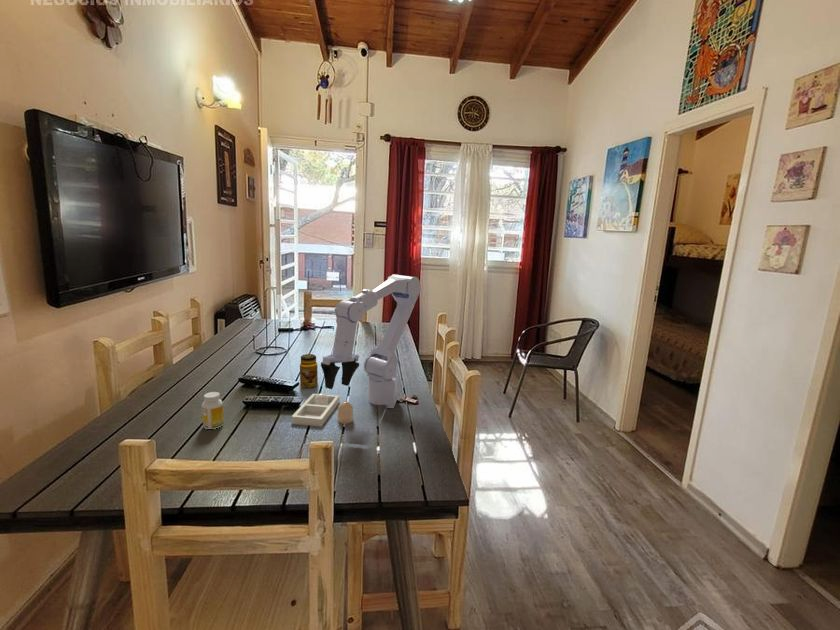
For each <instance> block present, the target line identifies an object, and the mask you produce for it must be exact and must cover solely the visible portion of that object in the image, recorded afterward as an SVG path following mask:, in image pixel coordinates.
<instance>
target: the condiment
mask: <svg viewBox="0 0 840 630" xmlns="http://www.w3.org/2000/svg"><path fill="white" fill-rule="evenodd" d="M318 373H319V372H318V362H317V356H316V355H315V354H314V353H313V354H311V353H306V354H302V355H301V356H300V363H299V379H300V381H299V382H300V383H299V385H300V388H302V389H303V390H305V389H306V390H309V389H315V388H317V387H318V384H319V381H318V380H319V378H318V375H319V374H318Z"/></svg>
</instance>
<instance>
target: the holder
mask: <svg viewBox="0 0 840 630" xmlns="http://www.w3.org/2000/svg"><path fill="white" fill-rule="evenodd" d="M318 394H319V393H311V395H309V397H308V398H307V399H306V400H305V402H304V403H303V404H302V405H300V407H299V408H298V409H296V411H295V412H294V413H293V414H292V415H291V424H292V425H300V426H301V425H302V426H311V427H312V426H313V427H314V426H315V427H323V426H324V424H325V423H326V421H327V420H328V419H329V417H330V416H331V415H332V414H333V412H334V411H335V409H336V408H337V407H338V406H339V405H340V395H335V394H334V395H333V394H326V395H327V396H328V404H327V405H326V406H325V405H315V402H314V399H315V397H316V395H318Z"/></svg>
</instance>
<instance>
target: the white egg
mask: <svg viewBox="0 0 840 630" xmlns="http://www.w3.org/2000/svg"><path fill="white" fill-rule="evenodd" d="M317 394H318V395H316V397H315V399H314V402H315V405H325V406H326V405H327V404H328V396H327V395H328V394H326V393H323V392H321V393H317Z"/></svg>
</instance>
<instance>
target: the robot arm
mask: <svg viewBox="0 0 840 630" xmlns="http://www.w3.org/2000/svg"><path fill="white" fill-rule="evenodd" d="M421 290H422V286H421V281H420V279H419V277H417V276H410V275H403V274H402V275H401V274H397V273H394V274H392V275H390V276H388V277H387V280H385V281H384V282H382V283H381V284H380V285H378V286H377V287H375V288H374V289H366V288H364V289H362V290H361V292H359V293H358V294H356V295H353V296H351V297H350V299H343V300H341V301H339V303H337V305H336V307H335V308H334V313H335V316H336V319H335V322H336V328H335V335H334V341H333V348H332V354H329V355H326V356H323V357H322V361H321V362H320V367H321V370H322V373H323V375H324V384H325V385H324V386H325V388H326V389H329V390H332V389H333V388H334V386H335V381H336V378H337V377H336V376H337V374H338V373H339V370H340V369H341V368H342V371H341V372H342V373H341V385H343V386H346V387H347V386H348V387H349V385H350V383H351V381H352V378H353V375H354V374H355V372H356V371H357V369H359V366H360V362H359V357H360V355H359V354H355V353H353V352H354V344H355V338H356V333H357V327H358V326H357V325H358V322H360V321H361V320H362V318H363V317H364V315H365V314H366V313H367V312H368V311H370V310H371V309H373V308H375V307H376V306H377V305H378V304H379V303H378V302H379V300H381V299H383V298H385V297H387V296H389V295H390V294H391V297H393V299H394V301H395V302H396V308H395V309H394V312H393V315H392V316H391V319H390V322H389V324H388V325H387V328H386V331H385V333H384V335H383V337H382V339H381V342H380V345H379V346H378V347H375V348H373V349H372V350H371V351H370V354H369V355H368V356H367V357H366V358H365V360H364V363H363V370H364V371H365V373H367V374H366V375H367V377H368V402H369V403H370V404H372V405H376V406H385V408H386V409H394V408H395V406H396V403H397V401H398V378H395V377H394V376H395V375H396V373H397V366H398V363H399V358H398V357H397V355H396V353H395V352H396V350H397V348H398V345H399V343H400V341H401V338H402V336H403V333H404V331H405V328H406V326H407V324H408V321H409V320H410V317H411V314H412V312H413V309H414V307H415V305H416V302H417V300H418V298H419V295H420V293H421ZM336 364H341V367H340V366H337V365H336Z"/></svg>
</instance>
